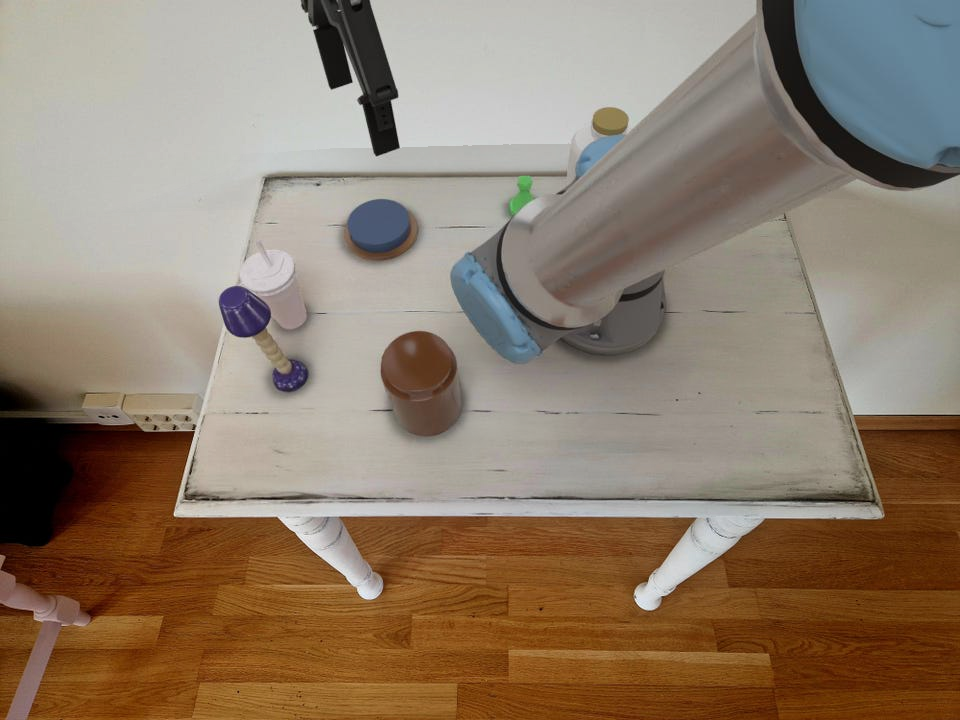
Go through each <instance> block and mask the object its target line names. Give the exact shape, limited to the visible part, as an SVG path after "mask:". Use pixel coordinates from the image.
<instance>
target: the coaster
mask: <svg viewBox="0 0 960 720" xmlns="http://www.w3.org/2000/svg"><path fill="white" fill-rule="evenodd" d="M406 210H407V211H408V214H409V218H410V223H411V231H410V234H409V236H408V238H407V239H406V241H405V242H404V243H403V244H401V245H400V246H399V247H397V248H395V249H393V250H390V251H387V252H381V253H374V252H368V251H364V250H362V249H360V248H359V247H357V246H356V245H355V244H354V243H353V241H351V238H350V234H349V231H348V227H347V223H346V224H345V227H344V231H343V238H344V241H345V244H346V246H347V247H348V249H349V250H350V251H351V253H352V254H354V255H355V256H357V257H359V258H362V259H365V260H368V261H386V260H391V259H393V258H396V257H399V256H401V255H402V254H404V253H406V252H407V251H408V250H409V249H410V248H411V247H412V246H413V245H414V243H415V242H416V240H417V238H418V232H419V231H418V229H419V228H418V223H417V220H416V218H415V216H414V215H413V213H412V212H410V211H409V210H408V209H406Z"/></svg>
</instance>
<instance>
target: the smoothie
mask: <svg viewBox="0 0 960 720" xmlns="http://www.w3.org/2000/svg"><path fill="white" fill-rule="evenodd" d="M254 243H255V245H256V247H257V249H258V251H257V252H255V253H254V254H252V255H250V256H249V257H248V258H247V259H245V261H244V262H243V263H242V265H241V267H240V270H239V280H240V282H241V284H242V287H244V288H246V289H248V290H249V291H251V292H252V293H253V294H255V295H256V296H257V297H259V298H260V299H262V300H263V301H264V302H265V303H266V304H267V305H268V306H269V308H270V311H271V317H272V318H273V319H274V320H275V321H276V322H277V324H278V325H279V326H280V327H281V328H283V329H284V330H285V329H286V330H294V329H298V328H300V327H301V326H302V325H304V324H305V322H306V320H307V318H308V316H307V315H308V314H307V310H306V307H305V302H304V299H303V295H302V291H301V289H300V285H299V284H300V283H299V281H298V277H297V272H298V268H297V265H296V263H295V261H294V259H293V258H292V256H291V255H290V254H289V253H287V251H283V250H281V249H275V248H274V249H273V248H271V249H265V247H264V245H263V244H262V241H261V239H259V238H256V239H254Z"/></svg>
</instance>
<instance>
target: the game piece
mask: <svg viewBox="0 0 960 720" xmlns="http://www.w3.org/2000/svg"><path fill="white" fill-rule="evenodd" d="M533 182H534V181H533V179H532V178H531V176H530V175H519V177H518V180H517V182H516V186H517V187H518V189H519V190H518V192H517V194H516V195H515V196H514V197H513V198H512V199H511V200H510V201H509V212H510V215H511V216H512V217H513V216H514V215H515V214H516V213H517V212H518V211H519V210H520V209H521V208H522V207H523V206H525V205H526V204H527V203H529V202H530V201H532V200H534V199H535V197H533V194H532V193H531V189H532V186H533Z"/></svg>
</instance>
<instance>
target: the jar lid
mask: <svg viewBox="0 0 960 720" xmlns="http://www.w3.org/2000/svg"><path fill="white" fill-rule="evenodd" d="M407 210H408V209H406V207H405V206H404V205H403V204H402V203H400V202H398V201H396V200H393V199H388V198H376V199H370V200H367V201H365V202H363V203H361V204H359V205H358V206H356V207H355V208H354V209H353V210H352V212H351V213H350V214H349V216H348V219H347V222H346V224H347V227H348V231H349V234H350V238H351V241H353V243H354V244H355V245H356V246H357V247H359V248H360V249H362V250H364V251H368V252H374V253H381V252H387V251H390V250H393V249H395V248H397V247H399V246H400V245H401V244H403V243H404V242H405V241H406V239H407V238H408V236H409V234H410V231H411V223H410V218H409V214H408V211H409V210H408V211H407Z"/></svg>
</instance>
